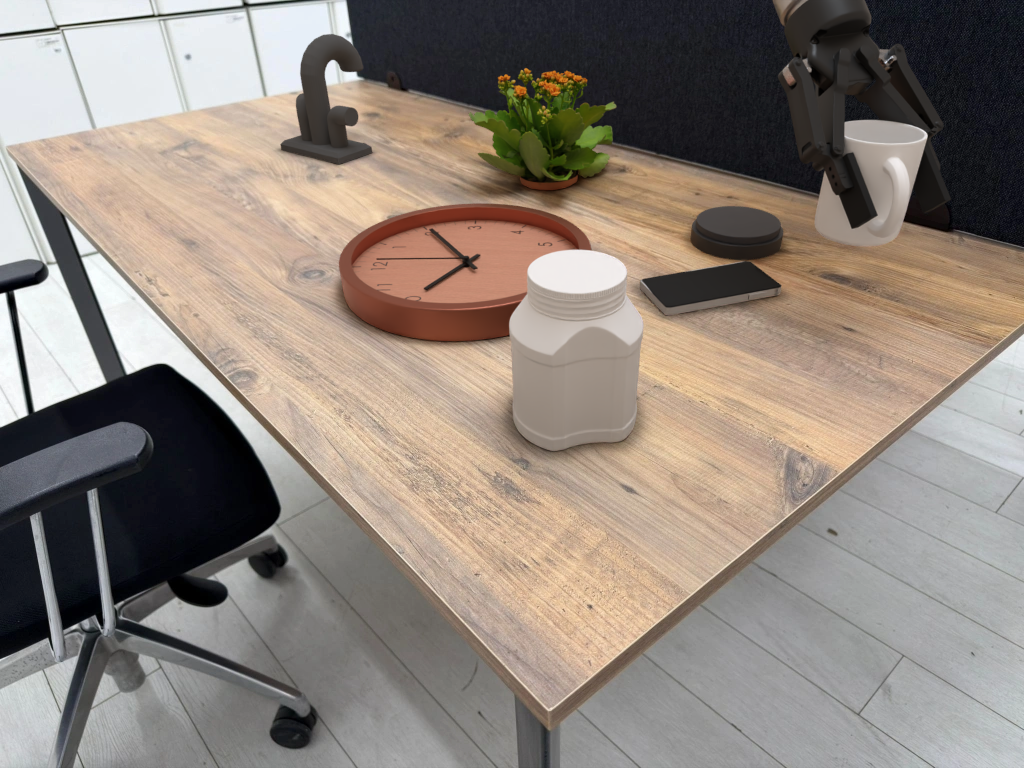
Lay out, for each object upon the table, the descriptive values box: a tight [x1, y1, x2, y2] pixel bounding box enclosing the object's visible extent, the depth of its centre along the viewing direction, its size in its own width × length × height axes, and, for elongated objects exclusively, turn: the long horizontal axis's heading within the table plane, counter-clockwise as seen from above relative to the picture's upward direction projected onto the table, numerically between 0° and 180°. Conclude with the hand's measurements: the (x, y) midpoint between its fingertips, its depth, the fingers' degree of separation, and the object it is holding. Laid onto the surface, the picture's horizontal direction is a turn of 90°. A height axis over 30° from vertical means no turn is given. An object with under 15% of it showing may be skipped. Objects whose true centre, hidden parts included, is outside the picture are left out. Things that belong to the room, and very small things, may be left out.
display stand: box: [689, 205, 784, 261], centre depth 98 cm, size 12×12×3 cm
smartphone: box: [639, 260, 783, 316], centre depth 87 cm, size 8×1×15 cm
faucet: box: [279, 33, 373, 165], centre depth 136 cm, size 18×16×20 cm
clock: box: [338, 202, 592, 342], centre depth 91 cm, size 31×4×31 cm
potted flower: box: [468, 67, 617, 191], centre depth 116 cm, size 25×24×18 cm
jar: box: [509, 250, 645, 452], centre depth 64 cm, size 12×10×15 cm
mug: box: [814, 119, 928, 248], centre depth 71 cm, size 12×8×10 cm
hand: (901, 214), depth 69 cm, fingers closed on mug, 8 cm apart
